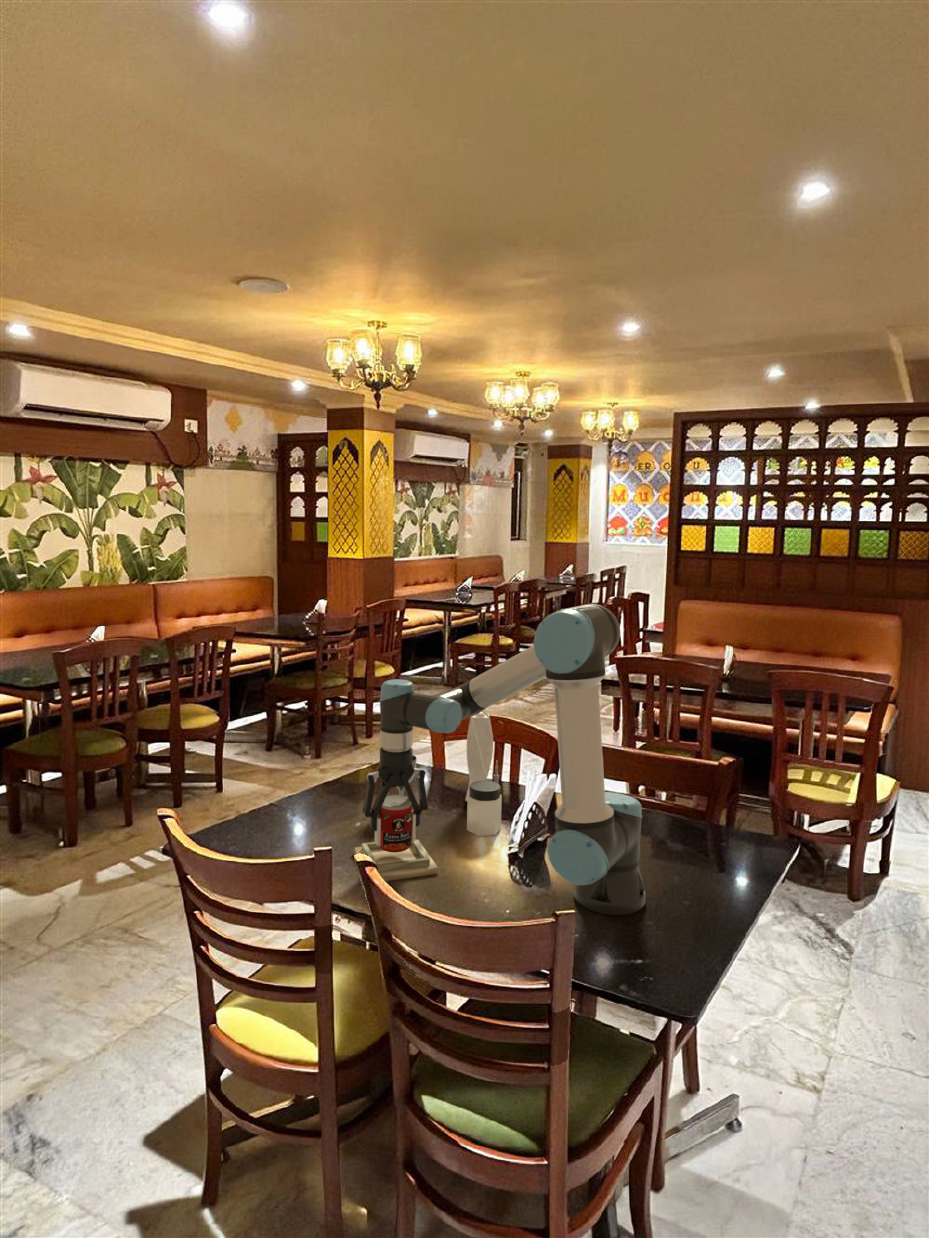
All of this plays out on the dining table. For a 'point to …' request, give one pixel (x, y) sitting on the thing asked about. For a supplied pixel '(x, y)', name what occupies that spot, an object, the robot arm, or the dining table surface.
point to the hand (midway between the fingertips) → (395, 841)
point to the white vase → (480, 748)
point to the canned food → (396, 823)
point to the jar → (484, 808)
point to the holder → (400, 861)
